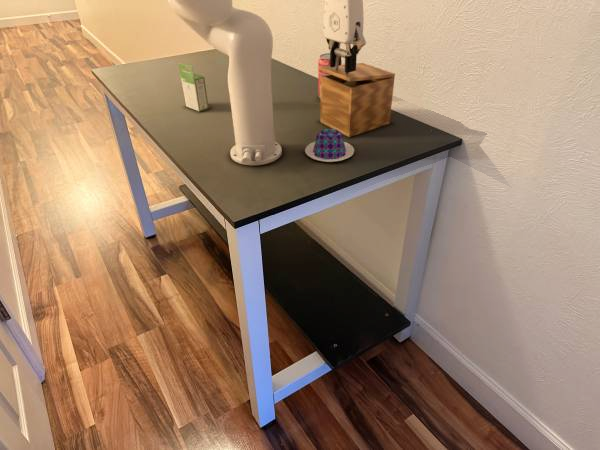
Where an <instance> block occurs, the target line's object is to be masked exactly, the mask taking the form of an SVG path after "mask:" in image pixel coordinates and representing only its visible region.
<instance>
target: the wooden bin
mask: <svg viewBox="0 0 600 450" xmlns="http://www.w3.org/2000/svg"><path fill="white" fill-rule="evenodd" d="M345 82H348V81H347V80H344V79H341V78H339V77H336V76H334V75H331V74H328V75H324V76H321V99H320V118H319V119H320V123H321V124H322V125H325V126H327V127H329V128H330V129H337V130H338V131H340V132H341V133H342V135H344V136H346V137H347V138H352V137H354V136H357V135H360V134H364V133H366V132H369V131H372V130H376V129H378V128H381V127H383V126H387V125H389V124H390V123H391V122H390V121H391V114H392V104H393V97H394V87H395V77H388V78H379V79H370V80H361V81H355V82H358V83H360V85H359V86H355V87H350V86H348V85H345V84H343V83H345Z"/></svg>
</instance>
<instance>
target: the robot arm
mask: <svg viewBox="0 0 600 450" xmlns="http://www.w3.org/2000/svg"><path fill="white" fill-rule="evenodd" d="M167 2H168V5H169V7H170V9H171V10H172V11H173V12H174V13H175V15H176V16H177V17H178V18H179V19H180V20H181V21H182V22H183V23H185V25H187V27H189V28H190V29H192V30H193V31H194V32H195V33H196V34H197V35H198V36H199V37H200V38H201V39H203V40H204V41H205V42H206V43H208V45H210V46H211V47H212V48H213V49H214V50H216V51H218V52H220V53H222V54H223V55H226V56H228V68H227V69H228V70H227V87H228V93H229V101H230V109H231V117H232V126H233V135H234V141H235V145H233V146H232V147H231V149H230V151H229V153H230V158H231V159H232V161H234V162H235V163H238V164H239V165H244V166H251V167H253V166H263V165H268V164H271V163H273V162H275V161H277V160H278V159H279V158H280V157H281V156H282V154H283V150H282V146H281V144H280V143H279V142H277V141H276V136H275V135H276V134H275V122H274V104H273V90H272V57H273V49H274V38H273V33H272V30H271V27H270V26H269V24H268V23H267V22H266V20H264V18H262V17H261V16H260V15H258V14H256V13H254V12H251V11H247V10H244V9H239V8H236V7H234V6H233V0H167ZM364 20H365V19H364V1H363V0H324V7H323V23H322V35H323V37H324V38H325V40H326V42H327V45H328V50H329V53H330V67H332V68H333V67H335V60H336V55H335V53H334V51H335V49H336V48H341V45H343V44H344V45H345V50H346V51H347V56H345V58H344V65H345V72H346V73H349V72H353V71H355V70H356V64H357V56H358V55H359V53H360V51H361V50H362V48H364V47H365V46H366V45H367V41H366V39H365V35H364V24H365V23H364ZM351 45H352V47H351ZM341 61H342V57H340V58H339V66H340V65H341Z"/></svg>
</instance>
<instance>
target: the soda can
mask: <svg viewBox="0 0 600 450" xmlns="http://www.w3.org/2000/svg"><path fill="white" fill-rule="evenodd" d="M342 62H343V61H342V60H341V65H343V63H342ZM317 63H318V64H317V65H318V66H317V69H318V72H317V73H318V75H317V76H318V77H317V78H318V82H317V84H318V87H317V88H318V97H319V99H320V100H321V76H324V75H328V73H326V72H323V71H321V70H319V67H321V66H330V52H328V53H327V52H326V53H322V54H320V55H319V59H318V61H317Z"/></svg>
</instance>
